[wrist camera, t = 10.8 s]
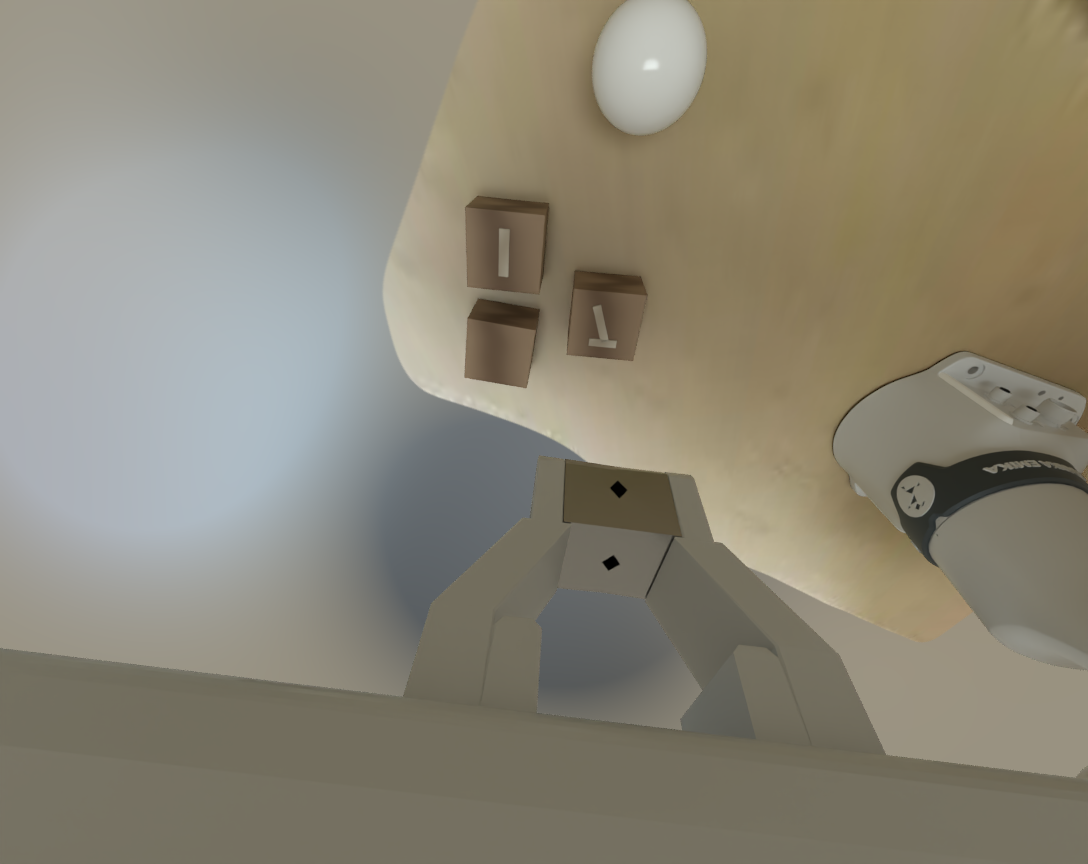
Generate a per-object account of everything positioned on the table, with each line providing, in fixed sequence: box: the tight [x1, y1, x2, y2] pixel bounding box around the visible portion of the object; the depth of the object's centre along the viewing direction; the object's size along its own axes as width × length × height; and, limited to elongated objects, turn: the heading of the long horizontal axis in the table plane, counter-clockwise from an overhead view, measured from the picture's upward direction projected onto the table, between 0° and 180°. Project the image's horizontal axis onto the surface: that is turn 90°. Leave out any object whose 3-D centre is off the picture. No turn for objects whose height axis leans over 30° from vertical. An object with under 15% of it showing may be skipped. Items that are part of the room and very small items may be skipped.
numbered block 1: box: [465, 196, 549, 294], centre depth 36 cm, size 6×6×5 cm
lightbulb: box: [592, 0, 707, 136], centre depth 27 cm, size 6×6×11 cm
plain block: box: [464, 299, 540, 388], centre depth 42 cm, size 6×6×5 cm
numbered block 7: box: [567, 271, 647, 361], centre depth 39 cm, size 6×6×5 cm
